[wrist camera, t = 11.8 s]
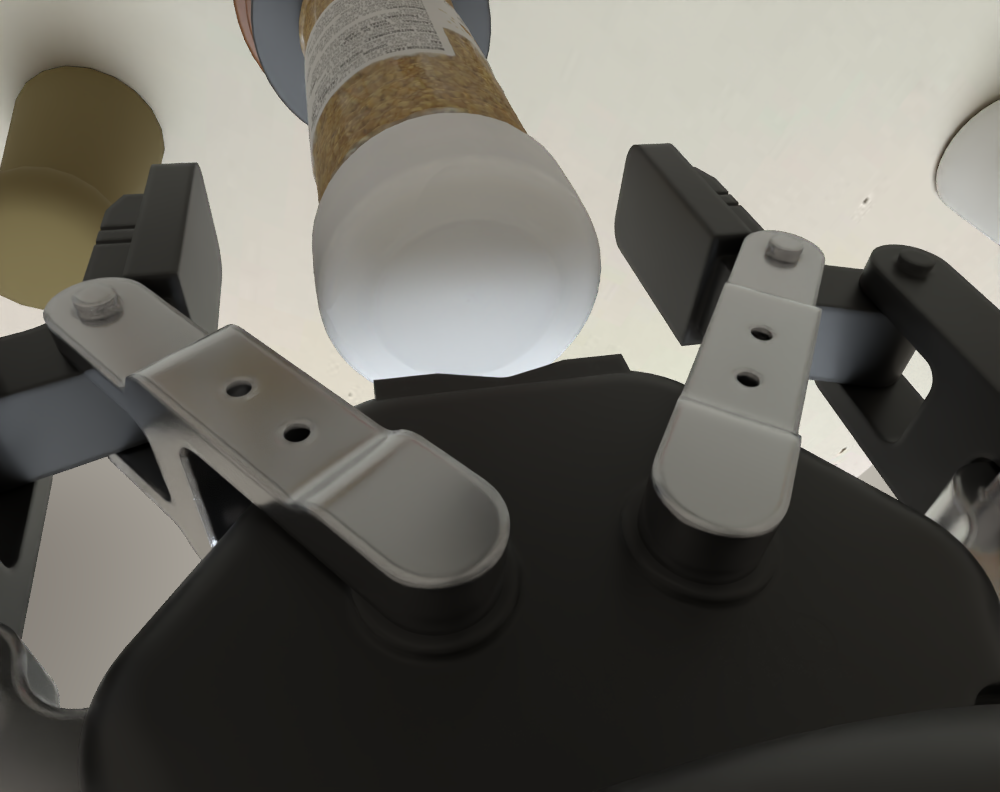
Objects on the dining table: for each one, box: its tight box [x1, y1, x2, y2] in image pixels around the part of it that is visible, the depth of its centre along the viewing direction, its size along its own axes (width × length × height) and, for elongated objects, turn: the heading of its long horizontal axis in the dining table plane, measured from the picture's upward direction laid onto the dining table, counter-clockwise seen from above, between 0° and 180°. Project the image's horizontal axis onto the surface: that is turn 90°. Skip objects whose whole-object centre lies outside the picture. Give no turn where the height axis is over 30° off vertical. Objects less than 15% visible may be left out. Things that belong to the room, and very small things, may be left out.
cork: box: [0, 66, 164, 310], centre depth 29 cm, size 6×6×11 cm
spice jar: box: [299, 0, 601, 383], centre depth 16 cm, size 5×5×14 cm
